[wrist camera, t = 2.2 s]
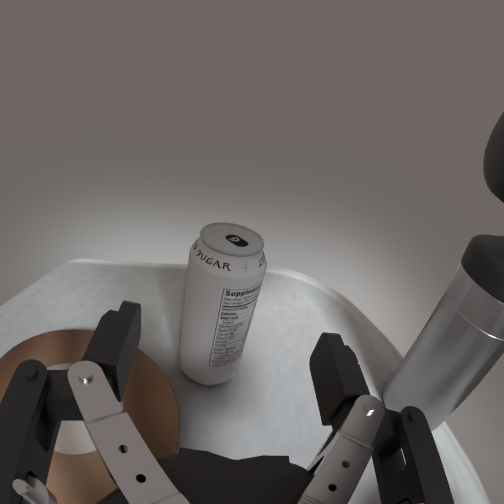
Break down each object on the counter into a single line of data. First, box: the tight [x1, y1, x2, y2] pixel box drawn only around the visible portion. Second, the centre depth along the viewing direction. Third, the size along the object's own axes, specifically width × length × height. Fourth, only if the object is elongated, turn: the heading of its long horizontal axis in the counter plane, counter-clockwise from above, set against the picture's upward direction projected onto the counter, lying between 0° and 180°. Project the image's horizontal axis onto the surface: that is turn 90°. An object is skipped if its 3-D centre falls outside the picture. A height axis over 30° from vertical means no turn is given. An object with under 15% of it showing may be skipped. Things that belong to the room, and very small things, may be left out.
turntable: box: [0, 330, 179, 504], centre depth 20 cm, size 18×18×2 cm
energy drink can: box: [179, 223, 267, 386], centre depth 27 cm, size 6×6×15 cm
